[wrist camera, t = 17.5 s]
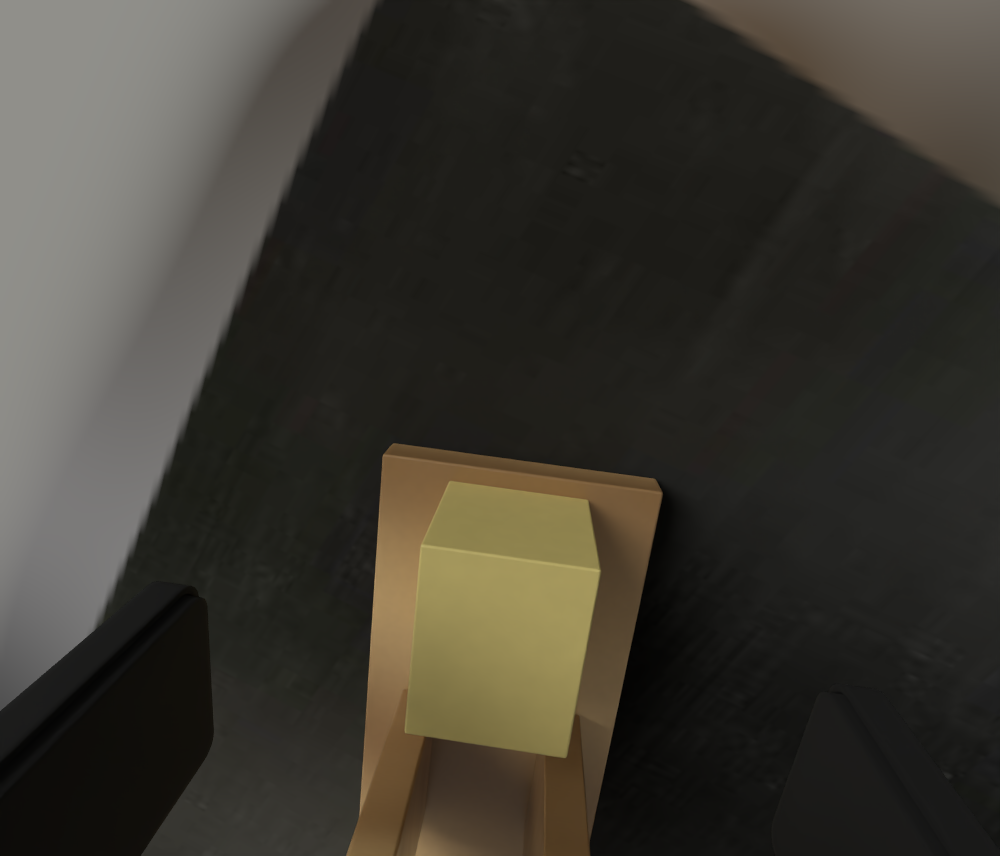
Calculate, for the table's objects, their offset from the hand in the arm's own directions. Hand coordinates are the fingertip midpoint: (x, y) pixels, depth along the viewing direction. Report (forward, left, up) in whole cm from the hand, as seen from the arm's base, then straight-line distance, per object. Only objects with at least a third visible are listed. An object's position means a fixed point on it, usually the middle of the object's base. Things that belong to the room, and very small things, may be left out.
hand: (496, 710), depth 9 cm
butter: (+1, 0, -6) cm, 6 cm away
